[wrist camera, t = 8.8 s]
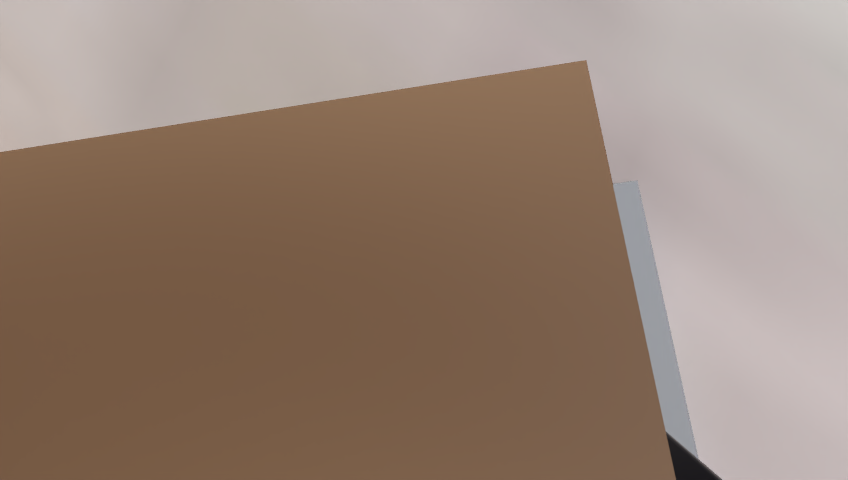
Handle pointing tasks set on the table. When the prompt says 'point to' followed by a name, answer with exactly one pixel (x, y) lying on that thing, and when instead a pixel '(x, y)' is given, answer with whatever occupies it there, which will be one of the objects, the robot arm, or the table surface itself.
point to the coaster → (654, 315)
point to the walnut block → (329, 295)
